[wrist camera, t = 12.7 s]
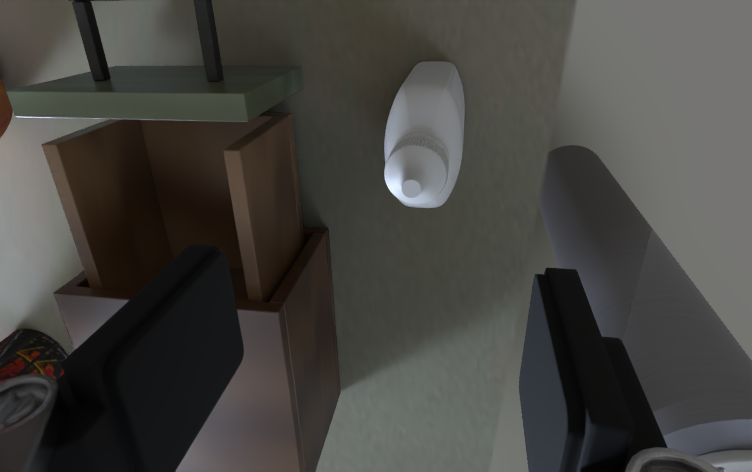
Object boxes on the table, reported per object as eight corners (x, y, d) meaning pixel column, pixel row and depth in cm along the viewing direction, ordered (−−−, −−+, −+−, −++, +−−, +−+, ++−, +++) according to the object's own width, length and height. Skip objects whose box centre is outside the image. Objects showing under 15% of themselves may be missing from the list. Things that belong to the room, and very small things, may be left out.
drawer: (92, -29, 27) (-39, -34, 20) (293, -36, 25) (225, -44, 18) (165, 263, 35) (91, 331, 28) (319, 275, 33) (280, 350, 26)
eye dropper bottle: (495, 86, 27) (510, 153, 16) (441, 171, 29) (424, 275, 19) (425, 45, 26) (395, 86, 16) (377, 134, 29) (324, 220, 18)
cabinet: (154, 217, 34) (52, 292, 26) (328, 227, 32) (278, 312, 24) (194, 375, 41) (122, 476, 33) (340, 392, 39) (304, 504, 30)
